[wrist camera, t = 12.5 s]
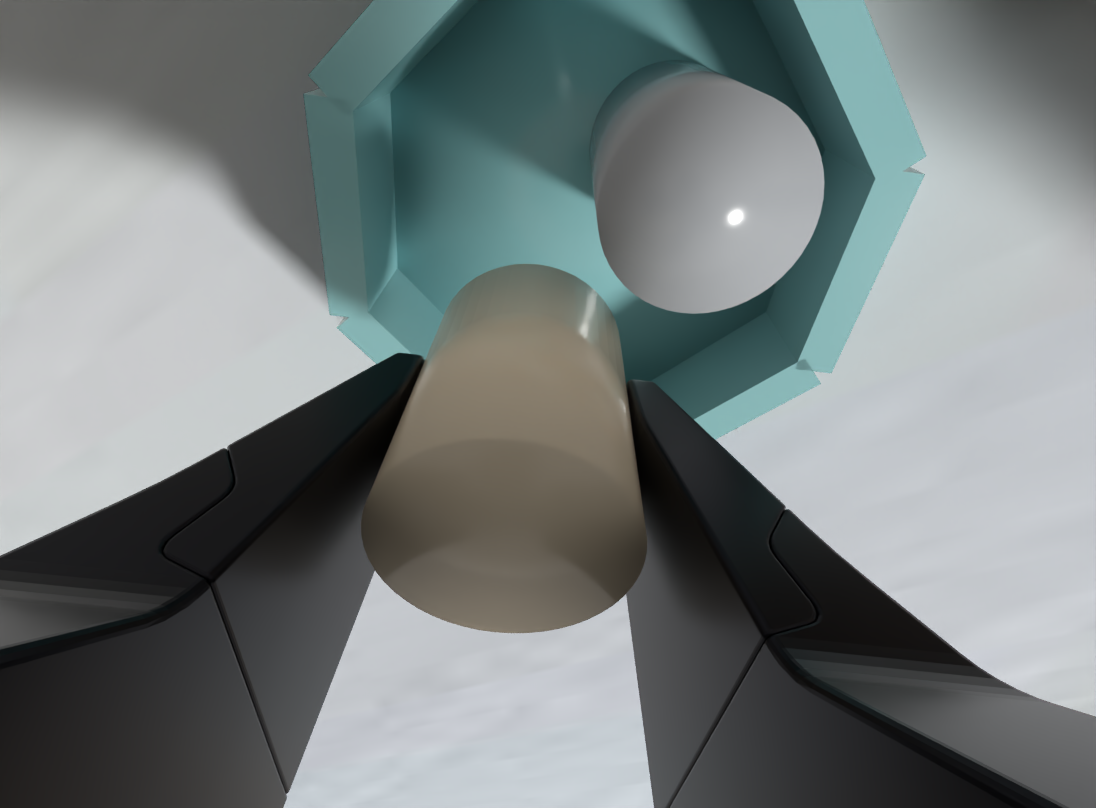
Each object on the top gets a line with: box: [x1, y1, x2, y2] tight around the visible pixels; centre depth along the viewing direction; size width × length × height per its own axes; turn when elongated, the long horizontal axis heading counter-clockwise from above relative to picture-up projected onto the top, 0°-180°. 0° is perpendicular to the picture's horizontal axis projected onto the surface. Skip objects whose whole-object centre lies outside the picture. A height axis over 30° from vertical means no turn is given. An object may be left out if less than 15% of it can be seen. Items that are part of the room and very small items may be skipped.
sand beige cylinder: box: [361, 264, 647, 633], centre depth 8 cm, size 3×3×4 cm
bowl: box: [303, 0, 926, 439], centre depth 12 cm, size 11×11×3 cm
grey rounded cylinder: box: [589, 60, 824, 314], centre depth 10 cm, size 3×3×4 cm
